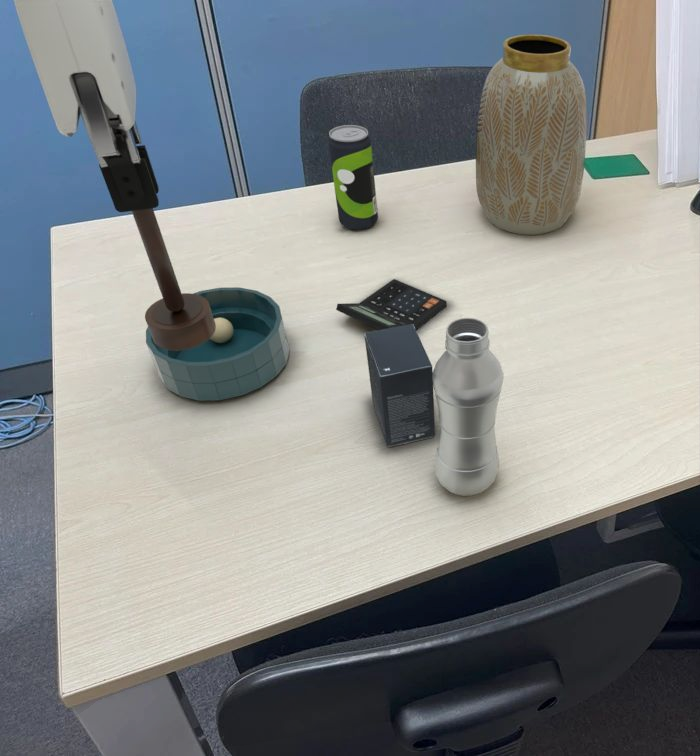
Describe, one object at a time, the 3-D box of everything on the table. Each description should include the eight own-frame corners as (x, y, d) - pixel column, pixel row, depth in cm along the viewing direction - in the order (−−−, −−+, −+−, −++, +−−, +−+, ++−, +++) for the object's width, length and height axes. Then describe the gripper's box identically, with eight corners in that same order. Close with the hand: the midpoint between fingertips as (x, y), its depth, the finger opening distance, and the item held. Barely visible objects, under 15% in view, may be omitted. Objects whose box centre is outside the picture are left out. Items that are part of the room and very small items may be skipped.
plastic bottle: (429, 464, 76) (420, 314, 63) (489, 451, 77) (493, 303, 64) (443, 510, 71) (437, 359, 58) (506, 496, 73) (515, 346, 60)
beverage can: (361, 209, 117) (351, 120, 107) (386, 222, 114) (378, 132, 104) (331, 223, 114) (318, 132, 104) (356, 236, 111) (345, 144, 101)
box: (436, 437, 79) (433, 365, 72) (386, 449, 77) (378, 377, 70) (418, 392, 84) (413, 321, 77) (371, 402, 83) (362, 331, 76)
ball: (210, 350, 88) (204, 330, 86) (208, 335, 90) (202, 315, 88) (237, 345, 89) (231, 325, 87) (234, 330, 91) (229, 310, 89)
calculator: (446, 306, 98) (446, 288, 96) (392, 349, 90) (390, 330, 88) (394, 283, 101) (392, 266, 99) (338, 323, 94) (335, 305, 92)
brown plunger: (152, 355, 64) (72, 154, 51) (153, 320, 68) (78, 125, 55) (217, 343, 65) (155, 145, 53) (214, 309, 69) (155, 117, 56)
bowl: (162, 417, 80) (146, 377, 76) (159, 338, 90) (145, 300, 86) (298, 387, 84) (289, 348, 80) (280, 315, 95) (272, 278, 91)
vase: (582, 243, 111) (603, 66, 94) (473, 240, 111) (474, 61, 93) (574, 192, 124) (591, 28, 106) (476, 189, 124) (478, 24, 106)
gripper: (0, -80, 50) (94, 166, 62) (-44, -28, 39) (81, 258, 51) (116, -83, 52) (184, 156, 64) (105, -35, 41) (190, 242, 53)
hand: (138, 200), depth 57 cm, fingers closed on brown plunger
